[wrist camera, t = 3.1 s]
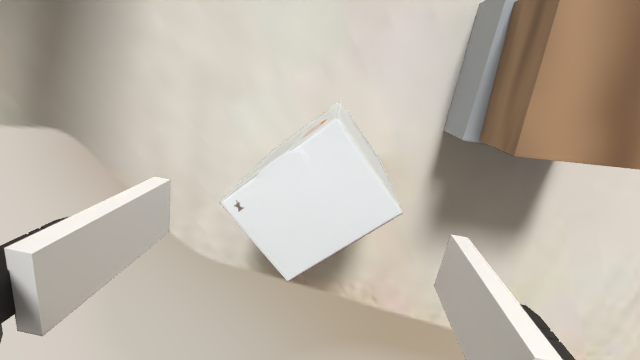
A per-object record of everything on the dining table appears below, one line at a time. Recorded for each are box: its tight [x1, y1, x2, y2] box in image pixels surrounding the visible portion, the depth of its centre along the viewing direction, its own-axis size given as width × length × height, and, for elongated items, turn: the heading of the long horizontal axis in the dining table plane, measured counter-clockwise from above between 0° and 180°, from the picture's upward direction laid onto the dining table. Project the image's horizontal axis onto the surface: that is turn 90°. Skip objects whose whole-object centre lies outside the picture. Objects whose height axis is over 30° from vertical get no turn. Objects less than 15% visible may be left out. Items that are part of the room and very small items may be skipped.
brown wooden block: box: [479, 0, 640, 169], centre depth 19 cm, size 9×9×5 cm
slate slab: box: [444, 0, 517, 145], centre depth 23 cm, size 10×10×5 cm
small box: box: [220, 101, 403, 281], centre depth 23 cm, size 8×6×13 cm
